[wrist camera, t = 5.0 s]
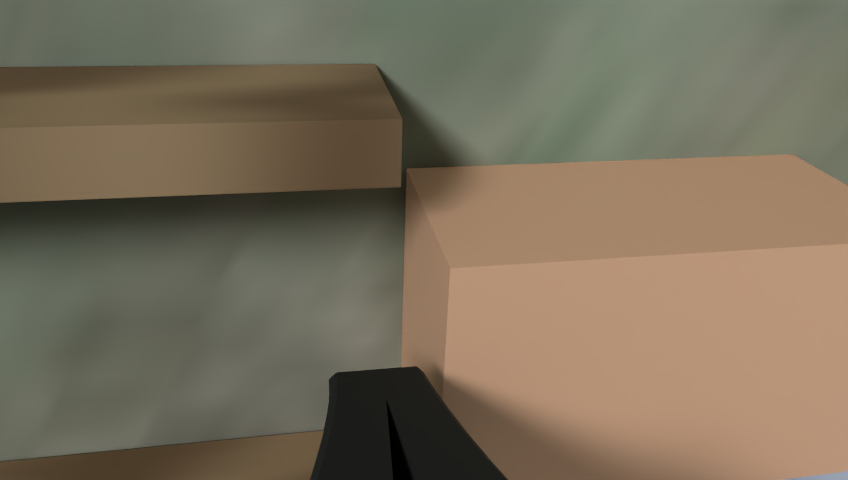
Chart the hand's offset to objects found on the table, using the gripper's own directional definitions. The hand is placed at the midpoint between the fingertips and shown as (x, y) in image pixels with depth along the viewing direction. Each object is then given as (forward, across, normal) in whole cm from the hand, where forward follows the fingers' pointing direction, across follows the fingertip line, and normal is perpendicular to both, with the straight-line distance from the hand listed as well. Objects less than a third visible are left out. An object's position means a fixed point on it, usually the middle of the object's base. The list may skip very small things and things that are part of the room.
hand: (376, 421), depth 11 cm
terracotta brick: (+4, -5, 0) cm, 6 cm away
